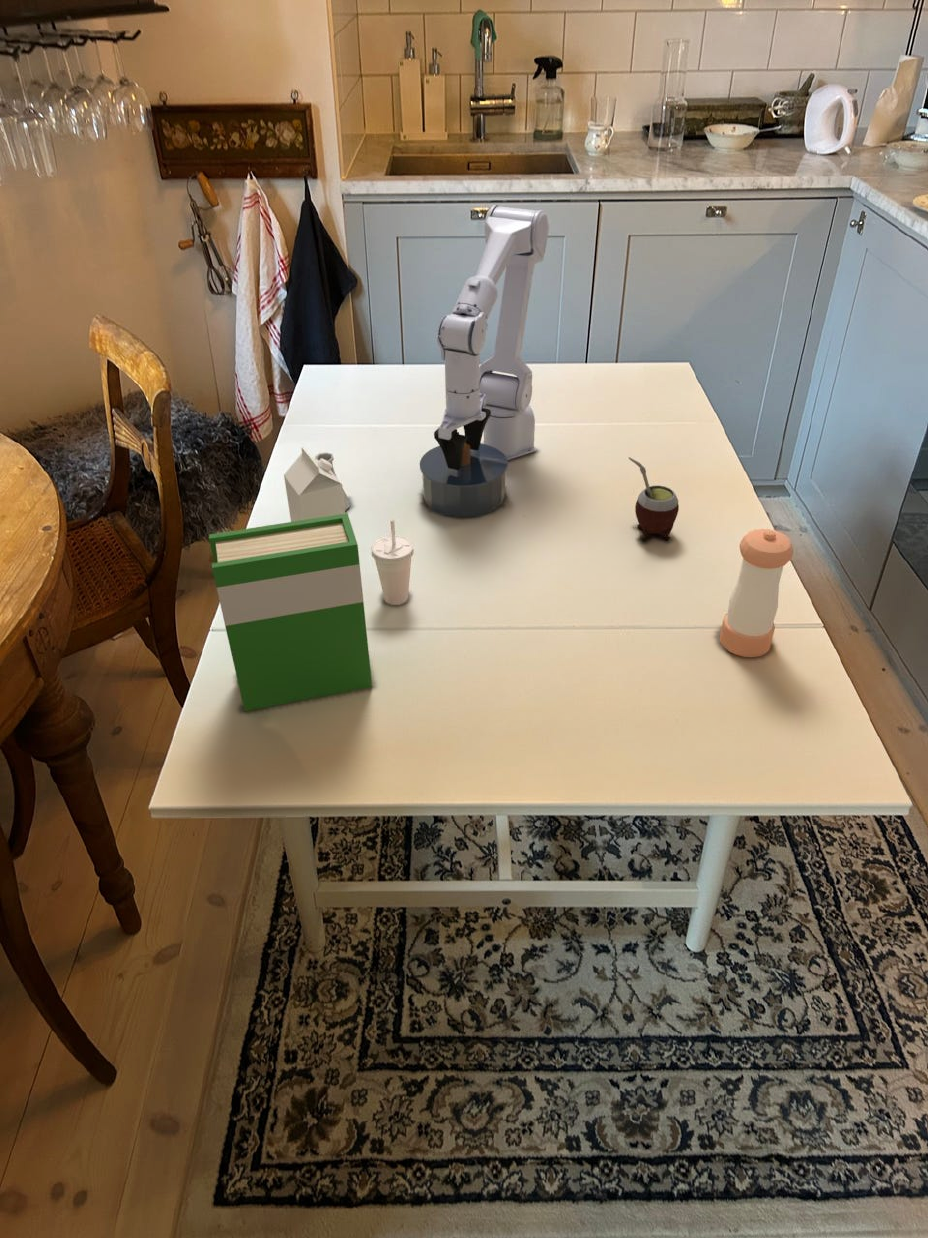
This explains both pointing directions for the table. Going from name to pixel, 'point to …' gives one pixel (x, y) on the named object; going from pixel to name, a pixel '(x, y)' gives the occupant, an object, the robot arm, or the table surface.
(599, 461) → the table surface
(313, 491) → the milk carton
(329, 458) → the flask
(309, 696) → the hardback book
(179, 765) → the table surface
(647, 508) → the mate gourd
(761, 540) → the pepper shaker
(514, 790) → the table surface
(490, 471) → the lid
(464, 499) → the pot
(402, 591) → the smoothie
